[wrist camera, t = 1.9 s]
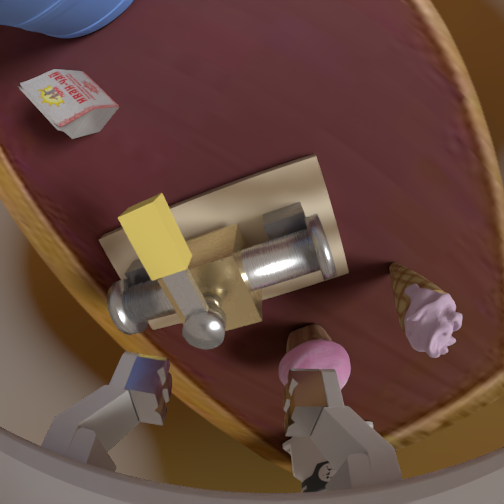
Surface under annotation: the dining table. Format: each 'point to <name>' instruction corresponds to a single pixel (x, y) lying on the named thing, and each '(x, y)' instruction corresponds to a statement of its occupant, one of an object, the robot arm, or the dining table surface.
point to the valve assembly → (236, 248)
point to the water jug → (61, 15)
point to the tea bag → (70, 101)
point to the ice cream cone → (424, 311)
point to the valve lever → (173, 268)
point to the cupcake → (314, 354)
